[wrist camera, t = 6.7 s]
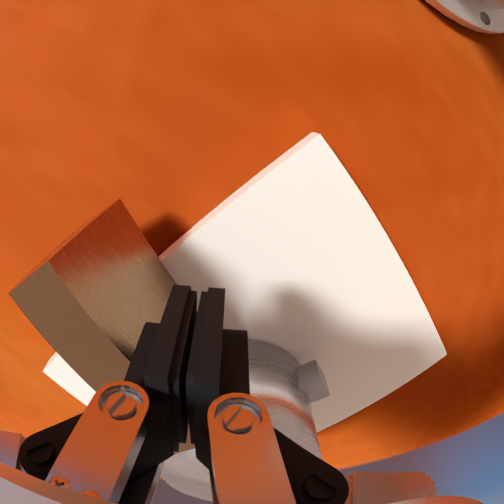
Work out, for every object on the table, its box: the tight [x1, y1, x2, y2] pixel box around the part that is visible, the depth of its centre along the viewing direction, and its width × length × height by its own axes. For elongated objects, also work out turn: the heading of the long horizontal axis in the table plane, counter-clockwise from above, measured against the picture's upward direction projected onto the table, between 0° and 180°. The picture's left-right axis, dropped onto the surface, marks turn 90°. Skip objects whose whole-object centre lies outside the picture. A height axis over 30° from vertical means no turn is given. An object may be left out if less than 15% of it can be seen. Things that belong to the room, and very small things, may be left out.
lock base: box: [43, 132, 447, 433], centre depth 19 cm, size 24×18×2 cm
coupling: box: [9, 199, 330, 501], centre depth 14 cm, size 17×10×7 cm, turn 28°
